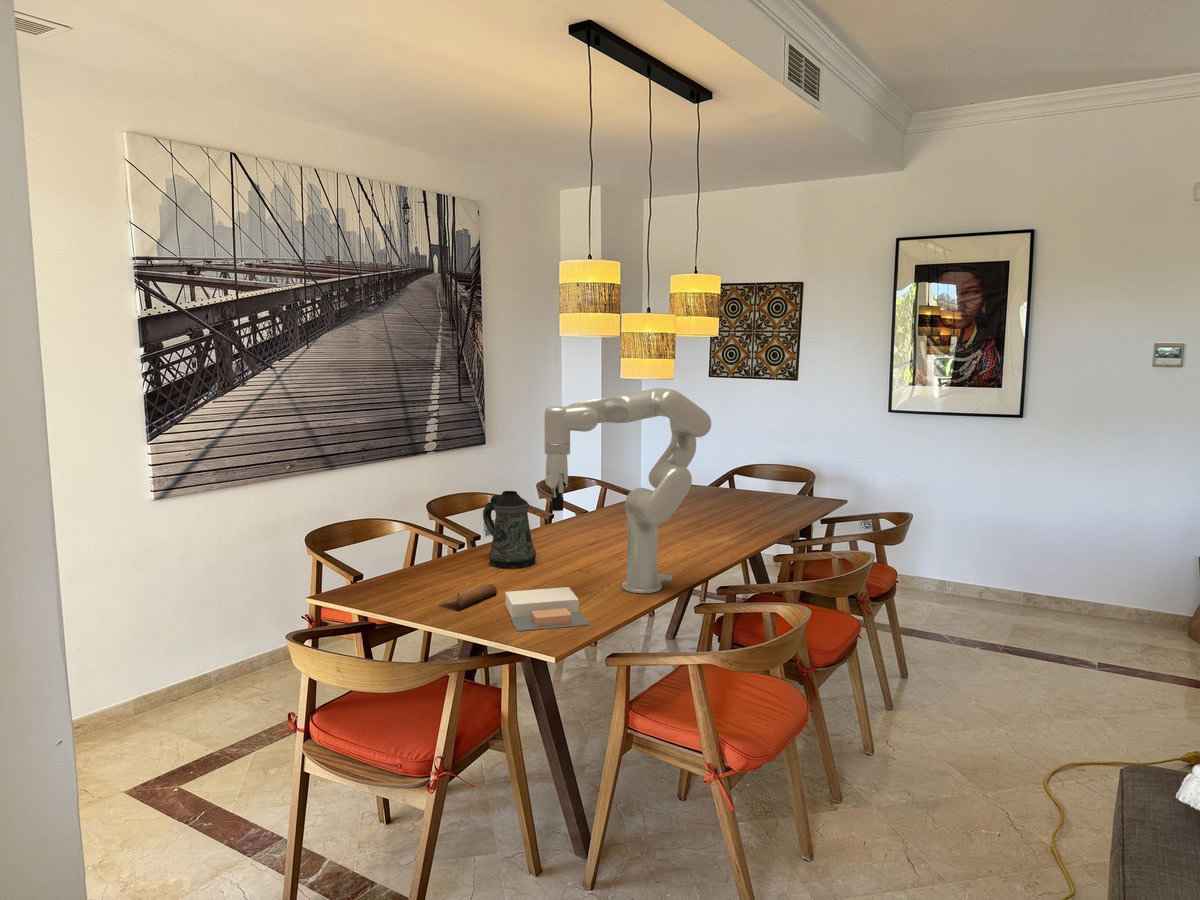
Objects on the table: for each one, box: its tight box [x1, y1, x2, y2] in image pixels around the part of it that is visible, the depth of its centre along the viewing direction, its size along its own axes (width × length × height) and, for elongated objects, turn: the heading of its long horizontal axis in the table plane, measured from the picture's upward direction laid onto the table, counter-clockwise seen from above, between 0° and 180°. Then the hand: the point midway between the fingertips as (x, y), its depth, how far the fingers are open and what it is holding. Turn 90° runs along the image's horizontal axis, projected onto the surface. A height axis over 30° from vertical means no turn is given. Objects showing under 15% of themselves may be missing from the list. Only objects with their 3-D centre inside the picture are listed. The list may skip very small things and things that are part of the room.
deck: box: [505, 586, 580, 618], centre depth 234 cm, size 19×12×4 cm, turn 105°
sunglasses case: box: [438, 583, 498, 612], centre depth 241 cm, size 18×7×7 cm
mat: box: [510, 611, 591, 633], centre depth 223 cm, size 20×10×1 cm, turn 105°
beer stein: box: [482, 490, 537, 570], centre depth 281 cm, size 16×19×25 cm
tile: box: [531, 608, 572, 627], centre depth 222 cm, size 10×6×2 cm, turn 106°
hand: (557, 510), depth 240 cm, fingers closed
